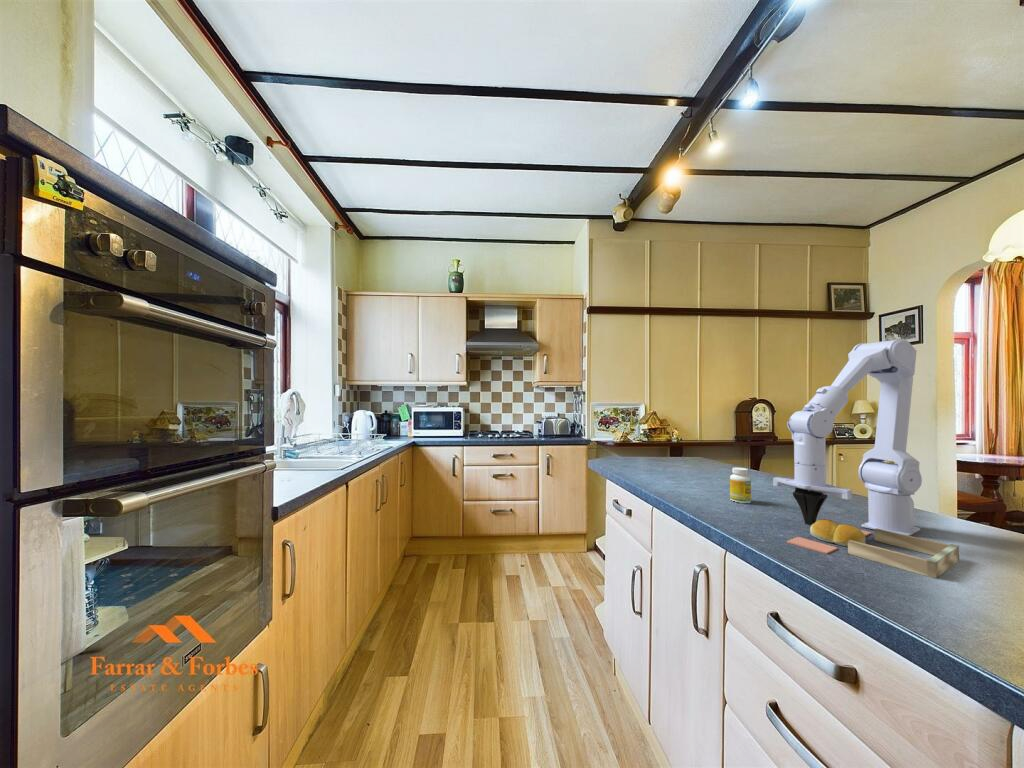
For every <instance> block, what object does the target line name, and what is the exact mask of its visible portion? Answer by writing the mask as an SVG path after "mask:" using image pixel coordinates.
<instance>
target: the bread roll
mask: <svg viewBox="0 0 1024 768" xmlns="http://www.w3.org/2000/svg"><path fill="white" fill-rule="evenodd" d="M861 530H862V529H859V528H857V527H856V526H853V525H849V524H844V523H842V524H841V523H840V524H838V523H836V522H835V521H833V520H830V519H825V518H823V519H821V518H820V519H819V520H816V522H815V523H814V524H813V525H810V528H809V533H810V535H811V536H812V537H814V538H815V539H816V540H817V539H818V540H820V541H823V542H826V543H834V544H835V545H838V546H841V547H847V548H848V540H852V541H856V542H860V543H864V544H866V540H867V539H866V537H865V535H864V534H863V532H862V531H861Z"/></svg>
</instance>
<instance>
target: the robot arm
mask: <svg viewBox="0 0 1024 768" xmlns="http://www.w3.org/2000/svg"><path fill="white" fill-rule="evenodd" d="M847 357H848V361H847V363H845V366H844V367H843V368H842V369H841V370H840V372H839V373H838V375H837V377H836V378H835V379H834V381H832V383H831V385H827V386H822V387H820V388H818V389H817V390H816V391H815V392H816V393H815V394H814V396H813V397H812V398H811V399H810V400H809V401H808V403H806V404H805V405H804V406H803V408H802V410H798V411H795V412H794V413H792V415H791V416H790V417H789V419H788V421H787V422H786V425H787V429H788V431H789V432H790V433H791V440H792V442H793V458H794V459H793V461H794V462H793V463H794V464H793V465H794V473H793V474H794V478H788V477H787V478H785V477H780V476H779V477H778V476H776V477H773V478H772V481H773V482H772V483H773V484H772V485H773V486H774V487H781V488H788V489H792V490H794V491H793V492H792V496H793V498H794V499H795V501H796V502H797V504H798V506H799V509H800V511H801V515H802V517H803V521H804V525H807V526H811V525H813V524H814V523H815V522H816V521H817V518H818V515H819V513H820V510H821V508H822V507H823V504H824V503H825V501H826V500H827V498H828V496H830V497H836V498H840V499H842V500H846V501H847V500H851V499H852V498H853V497H852V496H853V495H852V489H850V488H845V487H841V486H840V487H839V486H837V485H832V484H831V485H830V484H827V469H826V467H827V463H826V462H827V461H826V459H827V458H826V453H827V452H826V451H827V450H826V437H827V436H829V435H830V434H831V433H832V432H833V430H834V422H835V421H836V416H837V415H838V414H839V413H840V412H841V411H842V409H844V407H846V405H847V404H848V403H849V396H848V394H849V392H851V391H852V390H853V388H854V387H856V385H858V384H859V383H860V382H861V381H863V379H864V378H865V377H866V376H867V375H868V376H870V377H872V378H874V379H876V380H877V381H878V382H879V383H880V390H879V391H880V392H879V399H878V400H879V401H878V409H877V410H878V411H877V421H876V430H875V439H874V440H875V441H874V447H873V448H871V449H870V450H867V451H866V452H865V453H863V455H862V461H861V463H860V465H859V467H858V471H857V473H858V475H857V476H858V477H859V480H860V481H861V482H862V483H863V484H864V488H866V489H867V495H868V496H867V497H868V498H867V499H868V500H867V502H868V504H867V505H868V506H867V507H868V512H867V514H868V521H866V522H865V523H863V524H860V525H861V528H866V529H869V530H874V531H875V529H876V528H878V529H882V530H886V531H891V532H895V533H900V534H904V535H909V536H912V535H914V534H916V533H917V532H919V531H921V528H920V527H917V526H915V503H914V500H913V497H911V495H914V496H915V494H916V492H917V491H918V490H919V489H920V487H921V486H922V483H923V479H922V478H923V477H922V474H921V471H920V465H921V464H920V462H919V460H918V459H916V458H915V457H914V456H912V455H911V454H910V453H909V452H908V451H907V446H908V434H909V424H910V423H909V422H910V416H911V415H910V413H911V403H912V394H913V393H912V392H913V385H914V384H913V383H914V375H915V372H916V361H917V349H916V348H915V347H914V346H913V345H912V344H911V342H910V341H908V340H907V339H904V338H895V339H892V340H891V339H890V340H885V341H875V342H867V343H864V342H862V343H858V344H856V345H855V346H854V347H853V348H852V350H851V351H850V352H849V353H848V354H847ZM886 461H890V462H886ZM892 462H894V463H892Z"/></svg>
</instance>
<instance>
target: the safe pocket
mask: <svg viewBox="0 0 1024 768" xmlns="http://www.w3.org/2000/svg"><path fill="white" fill-rule="evenodd" d="M875 540H876V541H875ZM874 541H875V542H878V541H879V543H883V544H886V545H887V544H888V545H891V546H895V547H899V548H902V549H906V550H911V551H914V552H919V553H923V554H928V555H931V557H930V558H928V559H926V558H922V557H918V556H914V555H910V554H907V553H902V552H898V551H896V550H895V551H894V550H891V549H886V548H883V547H880V546H875V545H871V544H867V543H865V544H864V543H860V542H856V541H852V540H848V547H847V554H849V555H852V556H855V557H858V558H863V559H865V560H869V561H873V562H877V563H880V564H884V565H888V566H890V567H894V568H898V569H901V570H905V571H908V572H911V573H916V574H919V575H923V576H926V577H930V578H933V579H937V578H938V577H939V576H941V575H942V574H944V573H945V572H946V571H947V570H949V569H950V568H951V567H952V566H955V564H956V563H958V561H960V545H958V544H953V543H951V544H947V543H943V542H938V541H935V540H931V539H925V538H921V537H916V536H912V535H910V536H909V535H904V534H900V533H895V532H891V531H886V530H882V529H878V528H876V529H875V530H874Z"/></svg>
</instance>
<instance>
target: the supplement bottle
mask: <svg viewBox="0 0 1024 768" xmlns="http://www.w3.org/2000/svg"><path fill="white" fill-rule="evenodd" d="M748 474H749V469H748V468H745V467H732V474H731V475H730V476H729V500H730V501H731V500H732V501H731V502H733V501H735V502H734V503H736V502H740V503H739V504H742V503H748V504H751V503H752V479H751V476H749V475H748Z"/></svg>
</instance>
